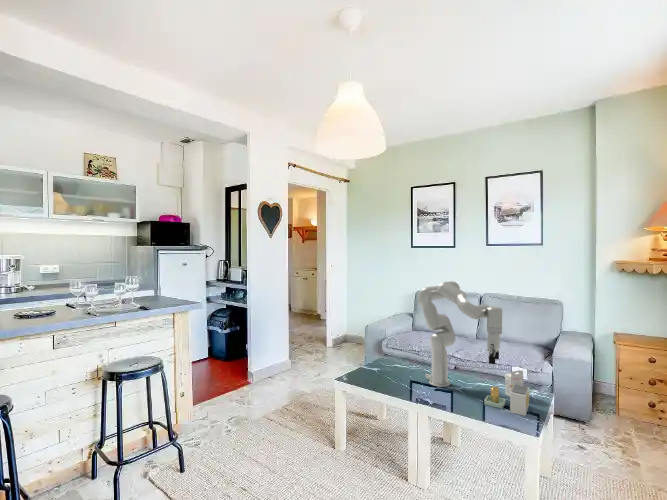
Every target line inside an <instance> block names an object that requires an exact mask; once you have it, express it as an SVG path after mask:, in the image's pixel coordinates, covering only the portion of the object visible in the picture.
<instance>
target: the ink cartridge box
mask: <svg viewBox="0 0 667 500" xmlns="http://www.w3.org/2000/svg"><path fill="white" fill-rule="evenodd" d="M504 379H505V384H504V385H505V387H504V388H505V391H504V392H505V394H504V395H505V396H507V397H510V392H511V390H512V388H513V386H514V384H516V385H521V386H524V371H523V370H522V369H521V370H514V371H511V372H510V373H506V374H505V375H504Z"/></svg>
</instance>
